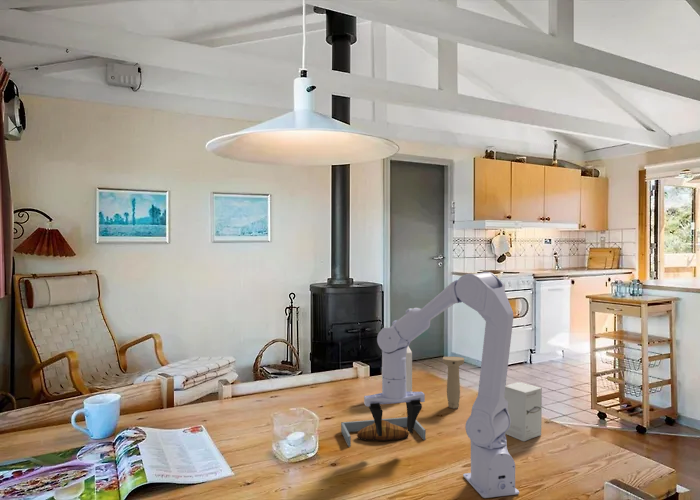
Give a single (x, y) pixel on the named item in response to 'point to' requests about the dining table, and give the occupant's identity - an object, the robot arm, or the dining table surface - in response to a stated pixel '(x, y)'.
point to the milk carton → (408, 371)
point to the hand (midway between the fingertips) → (394, 433)
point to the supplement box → (524, 410)
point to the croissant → (383, 432)
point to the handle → (453, 380)
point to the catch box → (359, 425)
